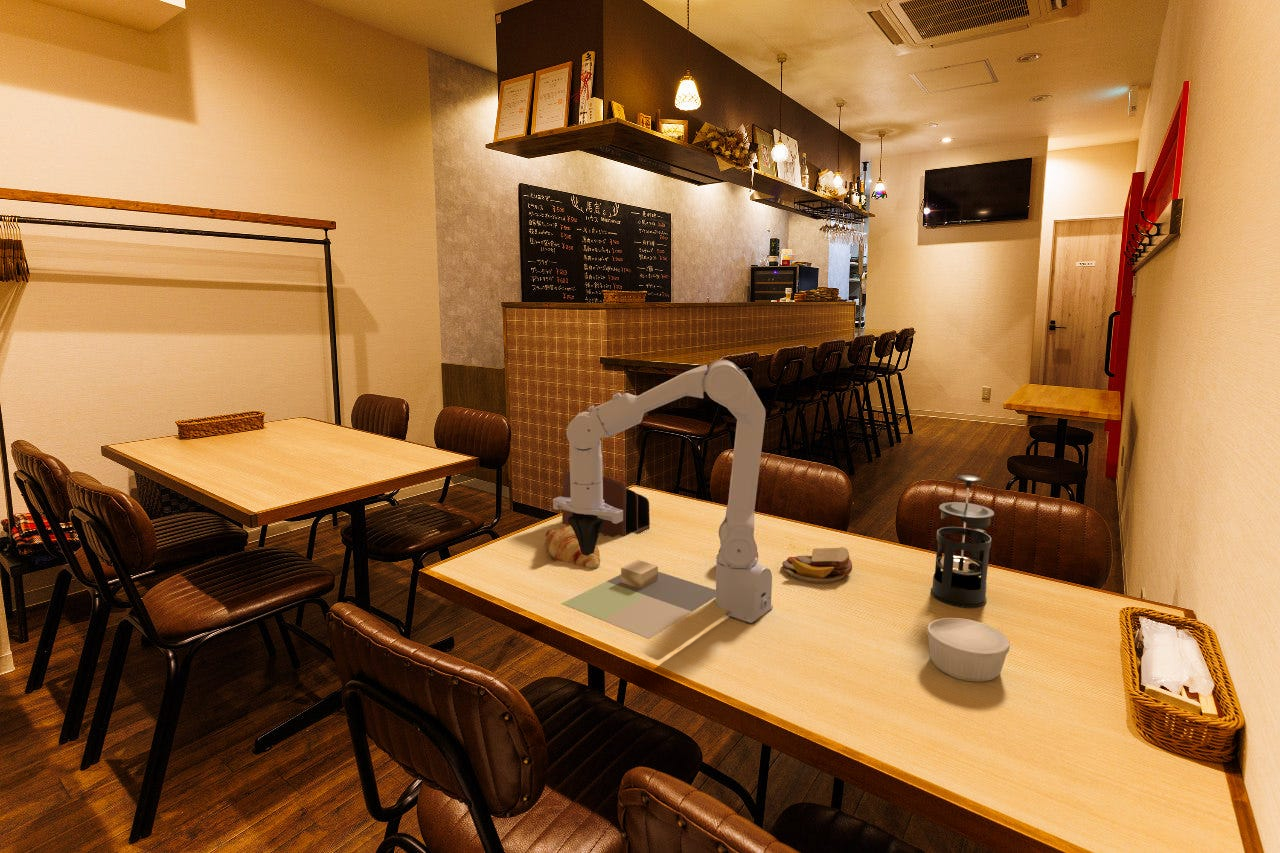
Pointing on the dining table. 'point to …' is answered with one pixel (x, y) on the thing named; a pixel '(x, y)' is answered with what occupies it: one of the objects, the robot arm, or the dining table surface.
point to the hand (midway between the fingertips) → (587, 553)
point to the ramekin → (967, 648)
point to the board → (642, 603)
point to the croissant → (569, 548)
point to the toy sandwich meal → (820, 565)
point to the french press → (962, 568)
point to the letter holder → (621, 499)
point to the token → (639, 574)
